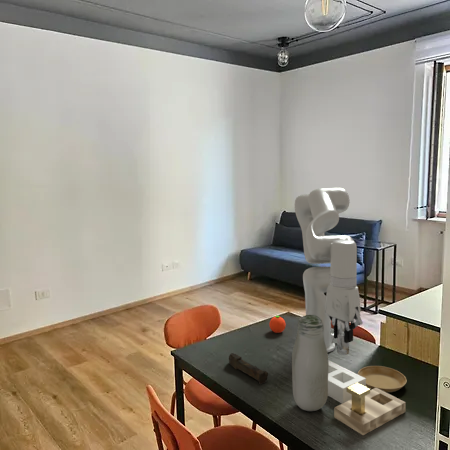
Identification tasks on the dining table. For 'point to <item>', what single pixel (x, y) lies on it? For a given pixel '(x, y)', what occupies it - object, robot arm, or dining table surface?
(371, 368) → the plant saucer
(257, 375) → the hand tool
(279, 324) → the clementine
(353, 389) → the gold square peg
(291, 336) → the dining table surface
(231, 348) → the dining table surface
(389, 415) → the socket block
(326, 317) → the robot arm
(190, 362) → the dining table surface
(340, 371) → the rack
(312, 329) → the glass bottle
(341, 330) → the clear glass vial
